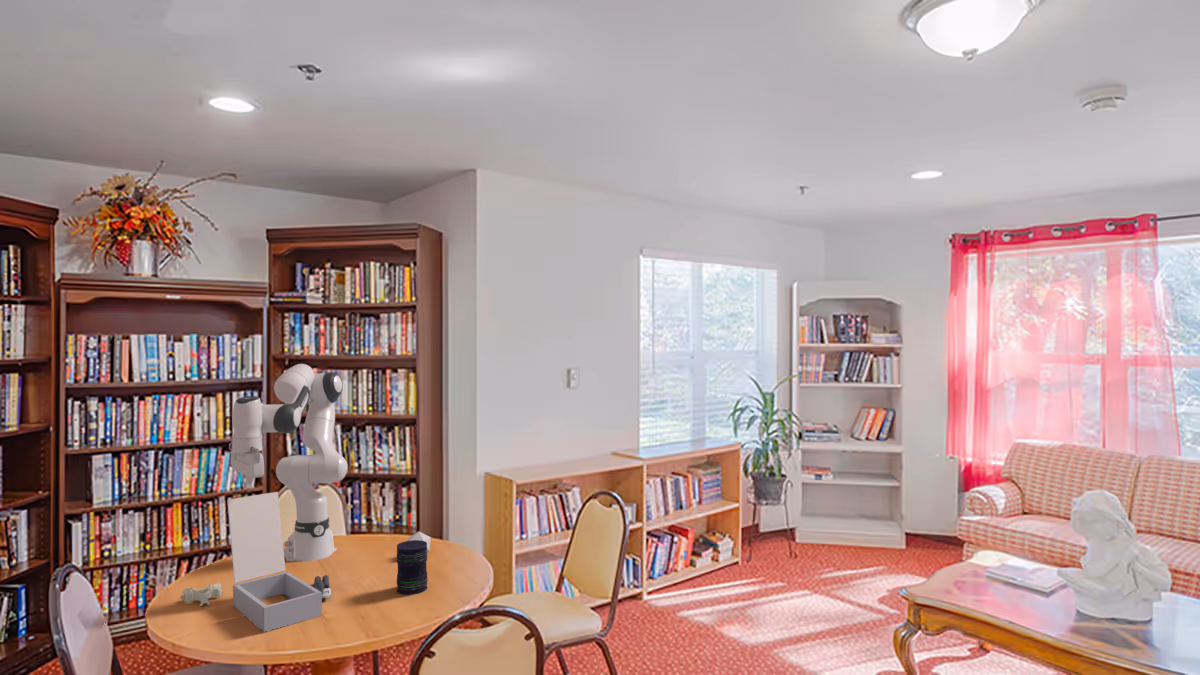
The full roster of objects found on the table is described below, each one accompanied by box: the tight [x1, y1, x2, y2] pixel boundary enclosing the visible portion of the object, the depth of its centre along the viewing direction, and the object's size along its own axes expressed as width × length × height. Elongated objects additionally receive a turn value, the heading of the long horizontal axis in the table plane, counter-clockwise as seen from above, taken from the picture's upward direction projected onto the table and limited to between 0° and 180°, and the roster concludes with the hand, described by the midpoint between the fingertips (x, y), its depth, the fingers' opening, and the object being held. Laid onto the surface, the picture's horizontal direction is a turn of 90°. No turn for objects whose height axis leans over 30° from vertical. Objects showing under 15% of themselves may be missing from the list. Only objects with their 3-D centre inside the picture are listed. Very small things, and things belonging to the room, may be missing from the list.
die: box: [407, 531, 432, 553], centre depth 257 cm, size 8×9×10 cm
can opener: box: [313, 574, 332, 599], centre depth 222 cm, size 19×5×6 cm, turn 23°
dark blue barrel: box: [396, 540, 428, 596], centre depth 224 cm, size 10×10×15 cm
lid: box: [226, 491, 286, 584], centre depth 219 cm, size 26×15×1 cm
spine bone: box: [179, 583, 224, 607], centre depth 214 cm, size 12×10×5 cm
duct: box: [232, 571, 323, 633], centre depth 207 cm, size 26×16×7 cm, turn 46°
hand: (247, 487), depth 224 cm, fingers closed
